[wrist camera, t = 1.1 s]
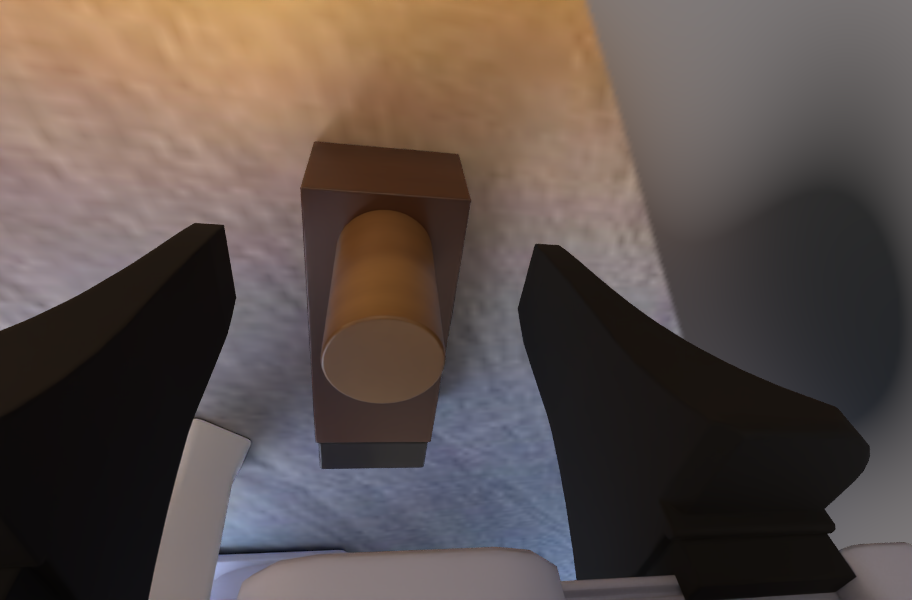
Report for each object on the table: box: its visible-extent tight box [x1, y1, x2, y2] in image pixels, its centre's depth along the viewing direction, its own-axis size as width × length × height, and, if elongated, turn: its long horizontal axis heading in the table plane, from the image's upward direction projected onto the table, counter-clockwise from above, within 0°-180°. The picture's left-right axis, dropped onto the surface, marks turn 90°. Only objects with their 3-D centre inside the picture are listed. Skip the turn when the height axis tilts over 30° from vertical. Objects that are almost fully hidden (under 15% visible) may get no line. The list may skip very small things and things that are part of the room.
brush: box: [300, 142, 471, 469], centre depth 15 cm, size 11×4×7 cm, turn 172°
